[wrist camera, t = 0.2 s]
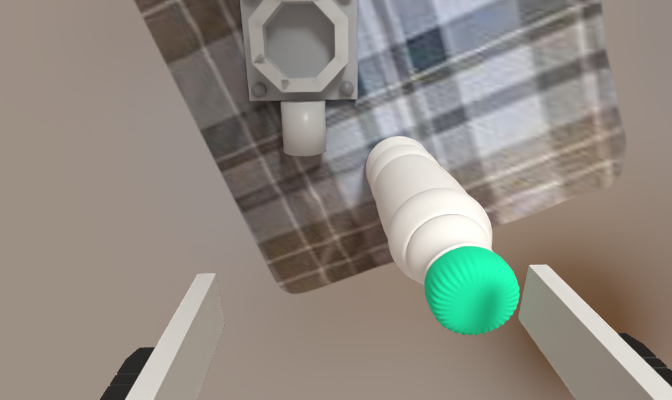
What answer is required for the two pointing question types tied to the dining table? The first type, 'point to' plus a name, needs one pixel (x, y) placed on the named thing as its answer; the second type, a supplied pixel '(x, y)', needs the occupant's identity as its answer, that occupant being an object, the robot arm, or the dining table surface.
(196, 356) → the robot arm
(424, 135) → the dining table surface
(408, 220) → the water bottle
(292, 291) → the dining table surface
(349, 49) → the fitting
